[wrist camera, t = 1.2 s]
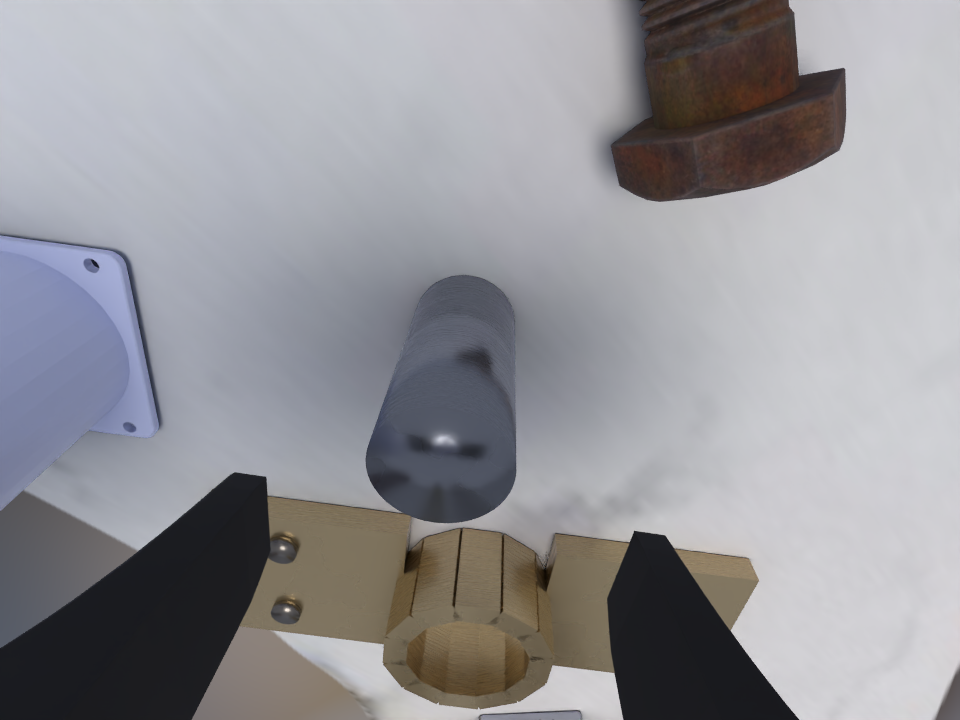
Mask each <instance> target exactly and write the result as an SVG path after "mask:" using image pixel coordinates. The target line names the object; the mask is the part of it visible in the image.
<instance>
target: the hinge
mask: <svg viewBox="0 0 960 720" xmlns="http://www.w3.org/2000/svg"><path fill="white" fill-rule="evenodd" d="M212 490H213V489H212ZM267 498H268V514H269V530H270V547H271V551H270V554H269V556H268V559H267V562H266V565H265V567H264V570H263V573H262V576H261V578H260V581H259V583H258V586H257V589H256V591H255V594H254V596H253V599H252V602H251V604H250V606H249V608H248V610H247V612H246V614H245V616H244V618H243V620H242V622H241V624H240V626H242V627H250V628H259V629H266V630H274V631H282V632H290V633H298V634H306V635H314V636H322V637H330V638H338V639H346V640H354V641H362V642H371V643H379V644H384V652H383V663H384V664H383V665H384V666H385V667H386V669H387V670H388V671H389V672H390V673H391V675H392V676H393V677H394V678H395V680H396V681H397V682H398V683H399V684H400V686H401V687H404V689H405V690H408V691H410V692H412V693H414V694H416V695H418V696H420V697H423V698H425V699H427V700H429V701H431V702H433V703H435V704H437V703H438V702H439V705H447V706H455V707H463V708H471V709H478V707H479V708H480V709H484V708H490V707H495V706H501V705H507V704H512V703H517V701H518V702H520V701H521V700H523V699H524V698H526V697H527V696H529V695H530V694H532V693H533V692H535V691H536V690H538V689H540V688H541V687H543V686H544V685H545V683H547V680H548V677H549V674H550V671H551V668H552V665H555V666H563V667H571V668H579V669H587V670H595V671H603V672H611V673H615V672H614V667H613V661H612V655H611V647H610V636H609V622H608V606H607V597H608V595H609V592H610V590H611V587H612V585H613V582H614V580H615V577H616V575H617V573H618V570H619V568H620V565H621V563H622V560H623V558H624V555H625V553H626V551H627V548H628V546H629V543H623V542H616V541H608V540H600V539H593V538H585V537H577V536H569V535H562V534H555V536H554V540H553V544H552V547H551V551H550V554H549V558H548V562H547V565H546V569H545V570H544V568H543V566H542V564H541V562H540V560H539V558H538V556H537V554H536V553H535V552H534V551H533V550H531V549H529V548H527V547H526V546H524V545H522V544H521V543H519V542H517V541H516V540H514V539H512V538H510V537H509V536H507V535H505V534H504V535H502V533H497V532H490V531H482V530H474V529H466V528H463V530H461V529H460V528H459V529H455V530H451V531H448V532H444V533H440V534H436V535H433V536H429V537H425V540H424V539H422V540H421V541H420V542H419V543H418V544H417V545H416V546H415V547H414V548H413V549H411V550H410V551H409V552H408V546H409V535H410V524H411V516H409V515H407V514H400V513H392V512H384V511H377V510H369V509H361V508H353V507H346V506H338V505H330V504H322V503H315V502H307V501H299V500H292V499H284V498H276V497H268V496H267ZM675 551H676V552H677V554H678V555H679V557H680V558H681V560H682V561H683V563H684V564H685V566H686V567H687V569H688V570H689V572H690V573H691V575H692V576H693V578H694V579H695V581H696V582H697V584H698V585H699V586H700V588H701V589H702V591H703V592H704V594H705V595H706V597H707V598H708V600H709V601H710V603H711V604H712V606H713V607H714V608H715V610H716V611H717V613H718V614H719V616H720V617H721V618H722V620H723V621H724V623H725V624H726V625H727V627H728V628H729V630H731V629H732V627H733V625H734V623H735V622H736V620H737V618H738V616H739V615H740V613H741V611H742V610H743V608H744V606H745V604H746V603H747V601H748V599H749V597H750V596H751V594H752V592H753V590H754V589H755V587H756V585H757V583H758V582H759V580H758V577H757V575H756V573H755V571H754V569H753V567H752V564H751V562H750V560H749V559H747V558H739V557H731V556H724V555H716V554H708V553H701V552H693V551H685V550H677V549H675Z"/></svg>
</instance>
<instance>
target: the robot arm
mask: <svg viewBox="0 0 960 720" xmlns="http://www.w3.org/2000/svg"><path fill="white" fill-rule="evenodd" d="M91 259H93V260H95V261H96V262H97V263H98V265H99V268H97V267H95V266H94V265H93V264H92V262H91ZM130 423H132V424H133V425H135V426H133V425H132V424H130ZM158 429H159V423H158V418H157V413H156V409H155V404H154V399H153V394H152V389H151V384H150V379H149V374H148V369H147V364H146V359H145V354H144V350H143V345H142V340H141V335H140V330H139V325H138V320H137V315H136V310H135V305H134V300H133V295H132V291H131V286H130V281H129V276H128V271H127V266H126V264H125V261H124V260H123V259H122V257H121V256H120V255H118V254H117V253H115V252H112V251H109V250H102V249H95V248H87V247H80V246H73V245H66V244H58V243H51V242H44V241H37V240H30V239H22V238H15V237H8V236H1V235H0V511H1V510H2V509H3V508H4V507H5V506H6V505H7V504H8V503H10V502H11V501H12V500H13V499H14V498H15V497H16V496H17V495H18V494H19V493H20V492H22V491H23V490H24V489H25V488H26V487H27V486H28V485H29V484H30V483H31V482H32V481H34V480H35V479H36V478H37V477H38V476H39V475H40V474H41V473H42V472H43V471H44V470H45V469H47V468H48V467H49V466H50V465H51V464H52V463H53V462H54V461H55V460H56V459H57V458H59V457H60V456H61V455H62V454H63V453H64V452H65V451H66V450H67V449H68V448H69V447H71V446H72V445H73V444H74V443H75V442H76V441H77V440H78V439H79V438H80V437H81V436H82V435H84V434H85V433H86V432H87V431H96V432H104V433H111V434H119V435H126V436H134V437H142V438H150V437H152V436H153V435H154V434H155V433H156V432H157V431H158ZM270 551H271V547H270V530H269V514H268V498H267V482H266V477H263V476H256V475H249V474H243V473H236V472H234V473H233V474H231V475H230V476H228V477H227V478H226V479H225V480H224V481H223V482H221V483H220V484H219V485H218V486H217V487H216V488H214V489H213V490H212V491H211V492H210V493H208V494H207V495H206V496H205V497H204V498H203V499H201V500H200V501H199V502H198V503H197V504H196V505H194V506H193V507H192V508H191V509H190V510H188V511H187V512H186V513H185V514H184V515H182V516H181V517H180V518H179V519H178V520H177V521H175V522H174V523H173V524H172V525H170V526H169V527H168V528H167V529H166V530H164V531H163V532H162V533H161V534H159V535H158V536H157V537H156V538H154V539H153V540H152V541H151V542H149V543H148V544H147V545H146V546H144V547H143V548H142V549H141V550H139V551H138V552H137V553H136V554H134V555H133V556H132V557H130V558H129V559H128V560H127V561H125V562H124V563H123V564H121V565H120V566H119V567H117V568H116V569H115V570H113V571H112V572H110V573H109V574H108V575H106V576H105V577H104V578H102V579H101V580H100V581H98V582H97V583H96V584H94V585H93V586H92V587H90V588H89V589H88V590H86V591H85V592H84V593H82V594H81V595H80V596H78V597H76V598H75V599H74V600H72V601H71V602H69V603H68V604H66V605H65V606H64V607H62V608H61V609H59V610H58V611H56V612H55V613H53V614H52V615H51V616H49V617H48V618H46V619H45V620H43V621H42V622H40V623H39V624H37V625H36V626H34V627H33V628H31V629H29V630H28V631H26V632H25V633H23V634H22V635H20V636H19V637H17V638H16V639H14V640H13V641H11V642H9V643H8V644H6V645H5V646H3V647H1V648H0V720H192V717H193V716H194V714H195V712H196V710H197V707H198V706H199V704H200V702H201V700H202V698H203V696H204V694H205V692H206V690H207V688H208V686H209V684H210V682H211V680H212V679H213V677H214V675H215V673H216V671H217V669H218V667H219V665H220V663H221V661H222V659H223V657H224V655H225V653H226V651H227V649H228V647H229V645H230V643H231V641H232V639H233V637H234V635H235V633H236V631H237V630H238V627H239V626H240V624H241V622H242V620H243V618H244V616H245V614H246V612H247V610H248V608H249V606H250V604H251V602H252V599H253V596H254V594H255V591H256V589H257V586H258V583H259V581H260V578H261V576H262V573H263V570H264V567H265V565H266V562H267V559H268V556H269V554H270ZM607 606H608V622H609V636H610V647H611V655H612V661H613V667H614V672H615V677H616V683H617V688H618V694H619V699H620V704H621V709H622V715H623V720H799V719H798V718H797V717H796V715H795V714H794V713H793V712H792V711H791V709H790V708H789V707H788V706H787V705H786V703H785V702H784V701H783V700H782V698H781V697H780V696H779V695H778V693H777V692H776V691H775V689H774V688H773V687H772V686H771V684H770V683H769V682H768V681H767V679H766V678H765V677H764V675H763V674H762V673H761V672H760V670H759V669H758V668H757V666H756V665H755V664H754V662H753V661H752V660H751V658H750V657H749V656H748V654H747V653H746V652H745V650H744V649H743V648H742V646H741V645H740V643H739V642H738V641H737V639H736V638H735V637H734V635H733V634H732V632H731V631H730V630H729V628H728V627H727V625H726V624H725V623H724V621H723V620H722V618H721V617H720V616H719V614H718V613H717V611H716V610H715V608H714V607H713V606H712V604H711V603H710V601H709V600H708V598H707V597H706V595H705V594H704V592H703V591H702V589H701V588H700V586H699V585H698V584H697V582H696V581H695V579H694V578H693V576H692V575H691V573H690V572H689V570H688V569H687V567H686V566H685V564H684V563H683V561H682V560H681V558H680V557H679V555H678V554H677V552H676V551H675V549H674V548H673V546H672V545H671V543H670V542H669V540H668V539H667V538H666V536H665V535H658V534H651V533H645V532H638V531H634V533H633V536H632V538H631V541H630V543H629V546H628V548H627V551H626V553H625V555H624V558H623V560H622V563H621V565H620V568H619V570H618V573H617V575H616V577H615V580H614V582H613V585H612V587H611V590H610V592H609V595H608V597H607Z"/></svg>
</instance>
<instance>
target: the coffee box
mask: <svg viewBox="0 0 960 720" xmlns="http://www.w3.org/2000/svg"><path fill="white" fill-rule="evenodd" d="M479 720H582V717H581V713H580V712H578V711H570V712H546V713H525V714H499V715H482V716H480V717H479Z"/></svg>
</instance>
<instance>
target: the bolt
mask: <svg viewBox="0 0 960 720" xmlns="http://www.w3.org/2000/svg"><path fill="white" fill-rule="evenodd" d="M641 1H646V3H645V5H644V6H643V7H642V9H641V10H640V11H639V14H640V16H647V17H648V18H647V20H646V21H645V23H644V24H643V25H642V30H644V31H650V34H649V35H648V37H647V38H646V39H645V41H644V43H645V48H646V54H647V57H646V60H645V63H644V65H645V71H646V77H647V83H648V89H649V95H650V101H651V107H652V113H653V117H651V118H649V119H646V120H644V121H643V122H641V123H640V124H639V125H637V126H636V127H635V128H633V129H632V130H631V131H629V132H628V133H626V134H625V135H624V136H622V137H621V138H620V139H618V140H617V141H616V142H614V143H613V144H612V145H611V148H612V153H613V158H614V162H615V167H616V172H617V176H618V181H619V185H620V186H621V187H623V188H624V189H626V190H628V191H629V192H631V193H633V194H635V195H637V196H639V197H642V198H644V199H647V200H651V201H658V202H662V201H673V200H683V199H693V198H702V197H709V196H714V195H720V194H725V193H731V192H736V191H741V190H747V189H751V188H755V187H760V186H764V185H767V184H770V183H772V182H775V181H778V180H780V179H783V178H785V177H788V176H790V175H792V174H795V173H797V172H799V171H802V170H804V169H806V168H808V167H811V166H813V165H815V164H817V163H818V162H820V161H822V160H824V159H825V158H827V157H829V156H830V155H832V154H834V153H836V152H837V151H839V149H840V147H841V145H842V142H843V138H844V132H845V123H846V84H845V69H844V68H841V69H835V70H829V71H824V72H818V73H812V74H806V75H801V76H799V73H798V59H797V45H796V32H795V18H794V12H793V11H792V10H791V9H790V7H789V0H641Z"/></svg>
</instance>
